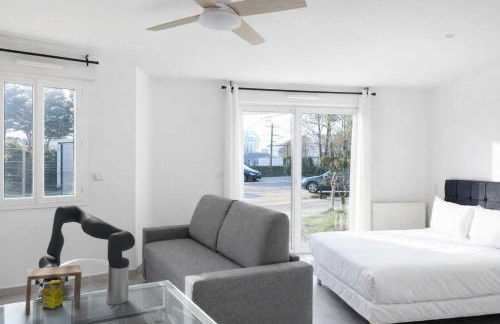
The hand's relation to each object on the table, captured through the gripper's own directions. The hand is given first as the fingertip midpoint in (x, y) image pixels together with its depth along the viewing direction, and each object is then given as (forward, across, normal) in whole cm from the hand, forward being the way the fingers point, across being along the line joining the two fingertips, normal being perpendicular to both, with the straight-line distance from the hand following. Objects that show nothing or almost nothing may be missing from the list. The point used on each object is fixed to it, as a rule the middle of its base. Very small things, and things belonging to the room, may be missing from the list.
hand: (52, 284), depth 179 cm
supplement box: (+11, 0, +7) cm, 13 cm away
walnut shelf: (+11, 0, +6) cm, 12 cm away
